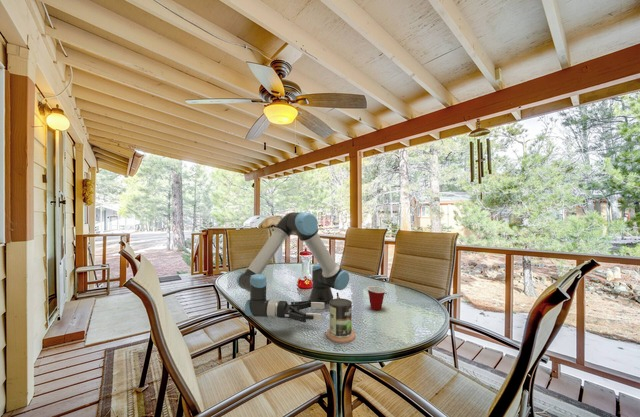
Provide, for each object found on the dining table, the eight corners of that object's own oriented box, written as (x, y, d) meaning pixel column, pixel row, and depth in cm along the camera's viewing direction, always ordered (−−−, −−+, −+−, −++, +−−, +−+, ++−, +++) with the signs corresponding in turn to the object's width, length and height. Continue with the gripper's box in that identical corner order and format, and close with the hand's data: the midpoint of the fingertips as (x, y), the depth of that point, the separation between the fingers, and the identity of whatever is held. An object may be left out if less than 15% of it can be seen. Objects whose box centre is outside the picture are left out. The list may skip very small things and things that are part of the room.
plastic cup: (384, 313, 145) (384, 292, 145) (365, 311, 149) (365, 290, 149) (387, 307, 155) (387, 286, 155) (369, 304, 159) (369, 284, 159)
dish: (320, 335, 120) (320, 332, 120) (340, 326, 129) (340, 323, 129) (341, 346, 110) (341, 342, 110) (360, 336, 119) (360, 332, 119)
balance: (345, 323, 133) (345, 301, 133) (333, 323, 133) (333, 301, 133) (342, 310, 150) (342, 290, 150) (331, 310, 149) (331, 291, 149)
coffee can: (355, 330, 121) (355, 300, 121) (345, 340, 112) (345, 307, 112) (336, 325, 127) (336, 296, 127) (325, 334, 118) (325, 303, 118)
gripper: (284, 307, 135) (325, 308, 133) (270, 329, 111) (319, 331, 108) (284, 292, 135) (325, 294, 133) (270, 311, 111) (319, 313, 108)
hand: (322, 311), depth 121 cm, fingers open, 13 cm apart
